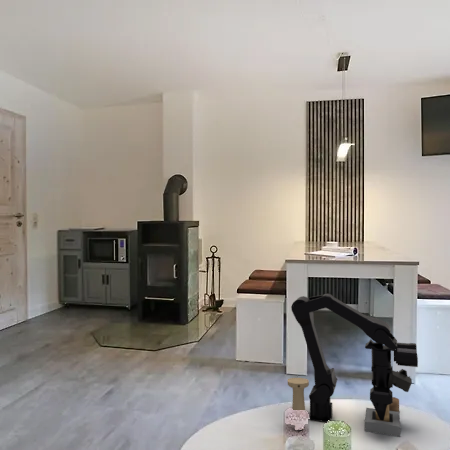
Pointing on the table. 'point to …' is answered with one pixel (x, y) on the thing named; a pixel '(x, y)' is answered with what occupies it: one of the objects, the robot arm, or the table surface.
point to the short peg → (394, 405)
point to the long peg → (385, 415)
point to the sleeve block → (382, 423)
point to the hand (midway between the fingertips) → (382, 413)
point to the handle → (298, 392)
